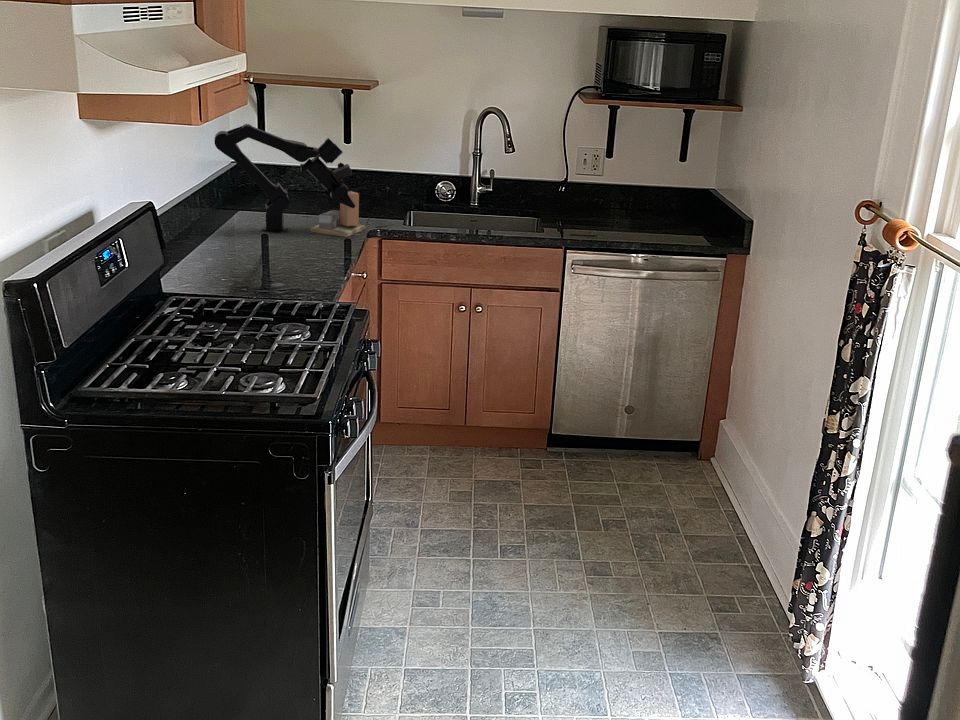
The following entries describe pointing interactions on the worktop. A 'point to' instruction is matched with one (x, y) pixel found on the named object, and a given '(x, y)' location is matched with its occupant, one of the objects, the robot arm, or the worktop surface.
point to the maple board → (338, 230)
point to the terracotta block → (350, 211)
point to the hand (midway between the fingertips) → (353, 205)
